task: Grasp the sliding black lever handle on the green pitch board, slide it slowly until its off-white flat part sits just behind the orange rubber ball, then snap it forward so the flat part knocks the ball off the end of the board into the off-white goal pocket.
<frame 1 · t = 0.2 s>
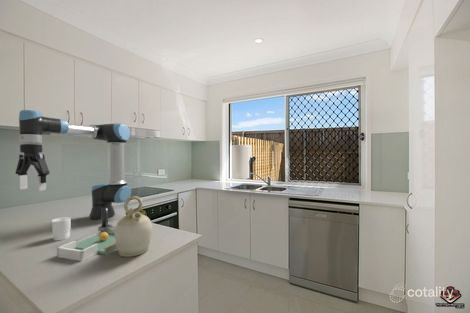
hand: (32, 189, 100), 28 cm above the counter, fingers open, 13 cm apart
pitch: (106, 241, 108), on the counter
white cup: (61, 238, 113), on the counter
flower pot: (135, 226, 129), on the counter
ball: (103, 236, 106), point 3 cm above the counter, touching pitch
black lever handle: (111, 220, 116), point 8 cm above the counter, slide at 0.0 cm
jug: (134, 251, 97), on the counter
goal: (77, 254, 93), on the counter
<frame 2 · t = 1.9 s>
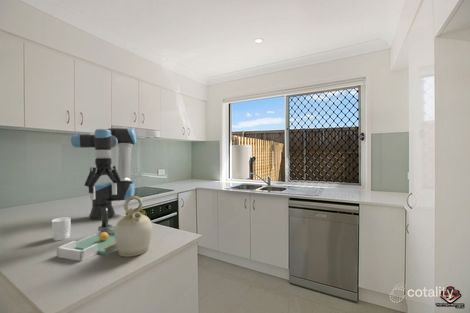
hand: (104, 196, 116), 21 cm above the counter, fingers open, 13 cm apart
nothing on the counter moved.
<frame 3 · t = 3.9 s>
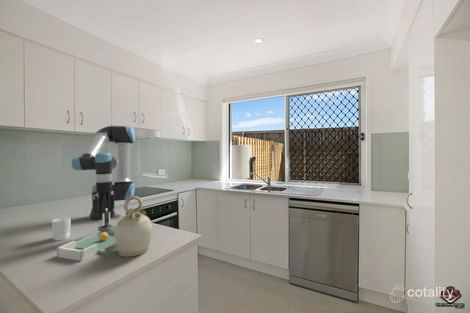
hand: (104, 224, 117), 6 cm above the counter, fingers closed on black lever handle, 3 cm apart
black lever handle: (111, 220, 116), point 8 cm above the counter, slide at 0.0 cm, touching gripper
everything else where it was.
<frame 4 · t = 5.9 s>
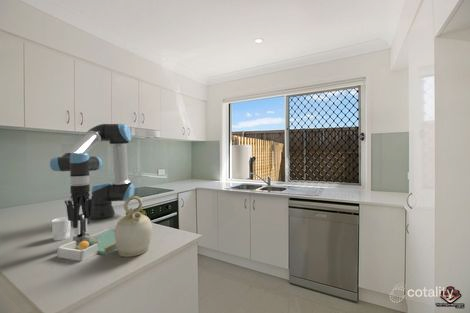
hand: (81, 232, 104), 6 cm above the counter, fingers closed on black lever handle, 3 cm apart
ball: (83, 245, 96), point 3 cm above the counter, tilted 99°
black lever handle: (88, 228, 103), point 8 cm above the counter, slide at 13.5 cm, touching gripper
everything else where it was.
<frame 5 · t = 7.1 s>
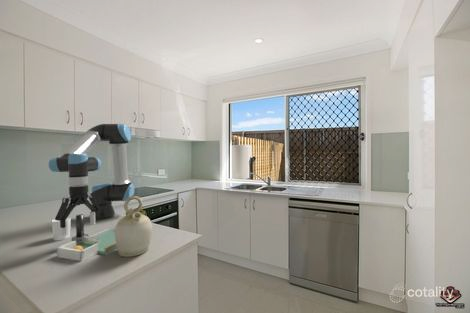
hand: (79, 229, 103), 8 cm above the counter, fingers open, 13 cm apart
ball: (77, 250, 93), point 2 cm above the counter
black lever handle: (87, 228, 102), point 8 cm above the counter, slide at 13.9 cm
everything else where it was.
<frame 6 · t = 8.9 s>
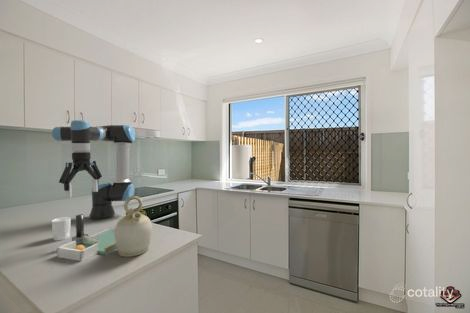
hand: (82, 194, 107), 24 cm above the counter, fingers open, 13 cm apart
ball: (79, 249, 94), point 2 cm above the counter, tilted 29°
everything else where it was.
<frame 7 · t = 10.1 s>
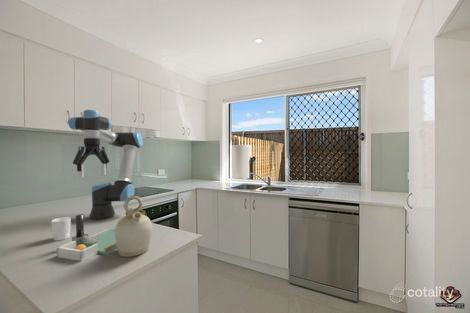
hand: (92, 176, 120), 32 cm above the counter, fingers open, 13 cm apart
ball: (80, 249, 95), point 2 cm above the counter, tilted 46°
everything else where it was.
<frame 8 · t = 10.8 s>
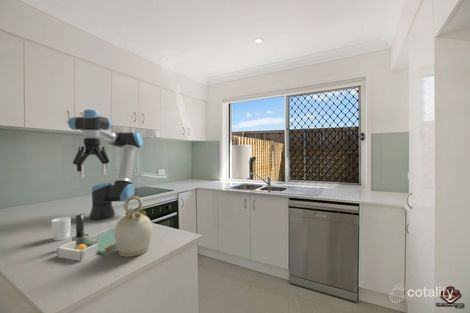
hand: (92, 176, 120), 32 cm above the counter, fingers open, 13 cm apart
ball: (81, 248, 95), point 2 cm above the counter, tilted 55°
everything else where it was.
at the end: ball inside the target area on the goal (1.4 cm from its centre), point 2.0 cm above the goal's base; black lever handle slide at 13.9 cm; the gripper is holding nothing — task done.
